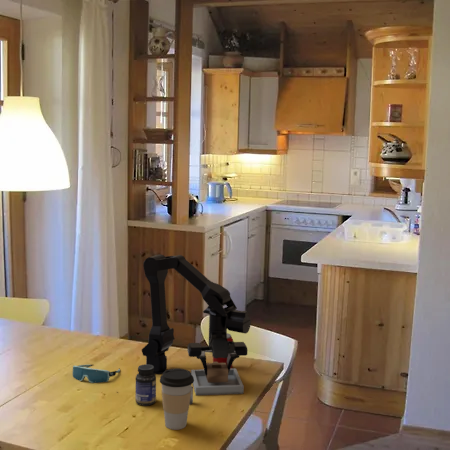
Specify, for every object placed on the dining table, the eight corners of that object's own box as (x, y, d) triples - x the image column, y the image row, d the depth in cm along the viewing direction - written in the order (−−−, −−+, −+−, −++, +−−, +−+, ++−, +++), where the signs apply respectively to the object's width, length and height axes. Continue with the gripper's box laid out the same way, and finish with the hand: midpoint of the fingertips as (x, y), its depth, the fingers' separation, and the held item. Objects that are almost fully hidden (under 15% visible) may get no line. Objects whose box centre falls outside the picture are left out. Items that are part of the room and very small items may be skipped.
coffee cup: (159, 417, 184) (160, 367, 182) (192, 417, 185) (193, 367, 183) (158, 433, 175) (159, 380, 172) (193, 432, 175) (194, 380, 173)
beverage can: (233, 365, 226) (234, 332, 224) (231, 373, 219) (232, 338, 217) (213, 364, 226) (214, 331, 224) (211, 371, 220) (212, 337, 218)
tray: (195, 395, 200) (195, 387, 200) (191, 376, 215) (191, 369, 214) (243, 393, 202) (243, 386, 202) (235, 375, 217) (235, 368, 216)
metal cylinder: (186, 404, 193) (186, 388, 192) (185, 401, 195) (186, 386, 194) (193, 404, 193) (193, 388, 193) (192, 401, 195) (192, 385, 195)
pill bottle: (156, 405, 192) (156, 370, 190) (135, 406, 191) (135, 371, 189) (155, 397, 198) (155, 362, 196) (135, 398, 197) (135, 363, 195)
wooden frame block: (207, 382, 204) (208, 370, 204) (205, 373, 212) (205, 361, 211) (227, 381, 205) (228, 369, 205) (224, 373, 213) (224, 361, 212)
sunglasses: (65, 380, 209) (66, 365, 209) (87, 370, 224) (88, 356, 224) (104, 386, 205) (105, 370, 205) (124, 376, 220) (125, 361, 220)
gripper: (191, 336, 196) (190, 385, 199) (251, 335, 199) (249, 383, 201) (187, 325, 207) (186, 372, 209) (245, 324, 210) (243, 370, 212)
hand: (216, 374), depth 208 cm, fingers closed on wooden frame block, 6 cm apart
